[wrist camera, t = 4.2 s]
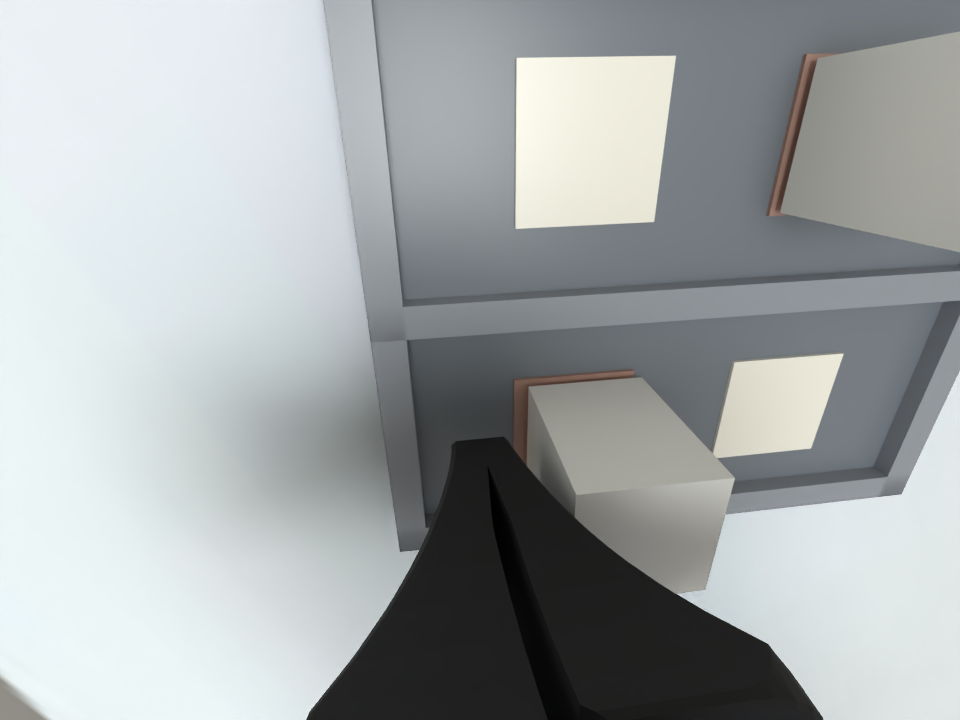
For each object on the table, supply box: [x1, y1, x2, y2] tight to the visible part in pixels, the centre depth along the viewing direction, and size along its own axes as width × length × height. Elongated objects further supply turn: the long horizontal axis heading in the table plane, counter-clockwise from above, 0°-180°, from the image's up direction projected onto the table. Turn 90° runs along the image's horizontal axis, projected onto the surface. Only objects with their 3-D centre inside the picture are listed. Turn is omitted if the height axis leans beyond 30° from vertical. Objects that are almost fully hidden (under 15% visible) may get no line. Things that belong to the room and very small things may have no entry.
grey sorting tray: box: [323, 0, 960, 552], centre depth 12 cm, size 14×16×2 cm
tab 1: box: [527, 377, 735, 594], centre depth 11 cm, size 3×3×4 cm
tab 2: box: [780, 32, 960, 252], centre depth 8 cm, size 3×3×4 cm
